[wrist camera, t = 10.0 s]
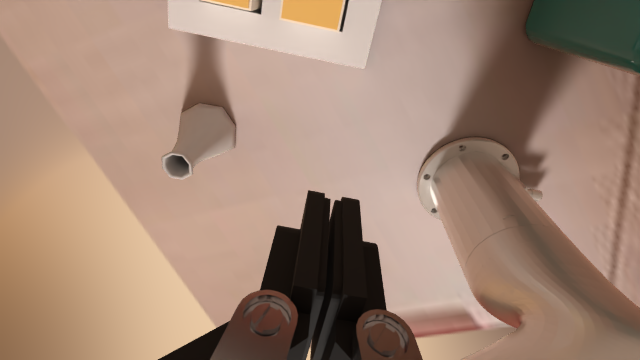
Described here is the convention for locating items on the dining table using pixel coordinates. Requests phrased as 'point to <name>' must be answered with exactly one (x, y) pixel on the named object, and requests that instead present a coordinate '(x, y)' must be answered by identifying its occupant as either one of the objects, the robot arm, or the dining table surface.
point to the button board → (282, 29)
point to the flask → (199, 139)
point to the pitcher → (589, 30)
